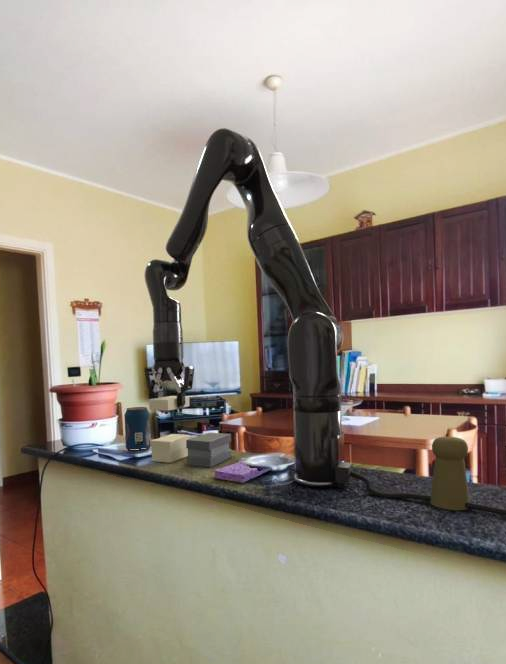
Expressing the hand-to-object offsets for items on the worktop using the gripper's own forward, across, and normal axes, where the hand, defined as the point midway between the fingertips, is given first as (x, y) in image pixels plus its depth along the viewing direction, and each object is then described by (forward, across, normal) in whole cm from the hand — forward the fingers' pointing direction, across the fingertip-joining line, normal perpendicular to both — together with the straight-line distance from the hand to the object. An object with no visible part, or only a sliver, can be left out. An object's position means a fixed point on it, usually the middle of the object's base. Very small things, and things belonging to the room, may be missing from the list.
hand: (170, 406), depth 110 cm
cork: (+13, +63, -13) cm, 66 cm away
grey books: (+13, +11, 0) cm, 17 cm away
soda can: (+13, -14, +4) cm, 20 cm away
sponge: (+13, +24, -8) cm, 29 cm away
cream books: (+13, 0, 0) cm, 13 cm away
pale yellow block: (0, 0, 0) cm, 0 cm away
